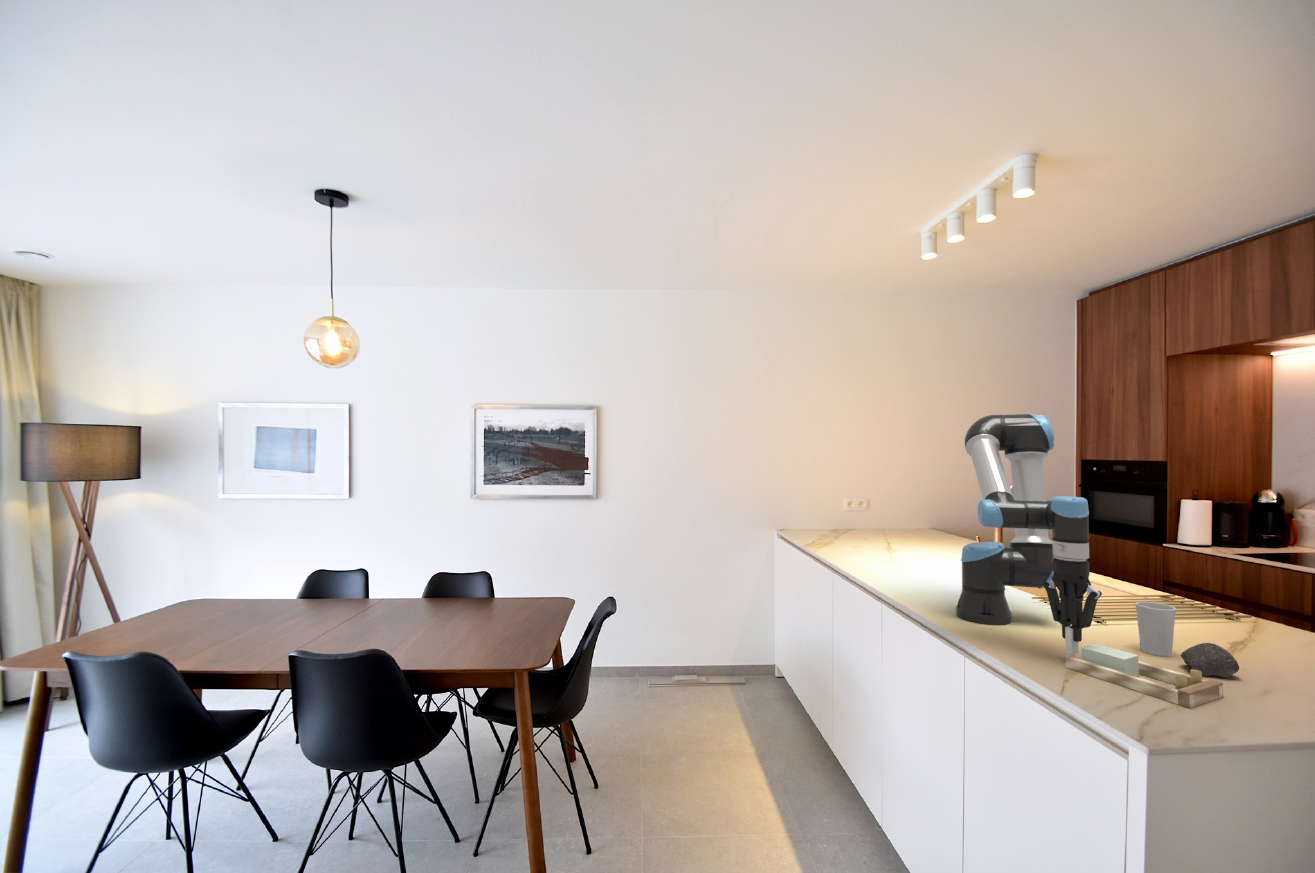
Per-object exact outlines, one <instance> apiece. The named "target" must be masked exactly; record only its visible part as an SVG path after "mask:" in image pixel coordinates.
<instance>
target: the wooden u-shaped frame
mask: <svg viewBox="0 0 1315 873" xmlns="http://www.w3.org/2000/svg"><path fill="white" fill-rule="evenodd" d="M1138 664H1139V675H1141V676H1146V677H1147V678H1148V677H1149V678H1152V679H1154V680H1159V681H1161V682H1165V683H1169V684H1171V685H1174V686H1175V687H1172V686H1168V685H1165V684H1162V683H1158V682H1155V681H1151V680H1148V679H1145V678H1142V677H1139V676H1138V677H1136V676H1133V675H1129V674H1126V673H1123V672H1120V671H1117V670H1113V669H1110V668H1107V667H1104V666H1100V665H1097V664H1094V663H1091V662H1088V661H1084V660H1081V658H1078V657H1074V656H1072V655H1069V656H1065V668H1066V669H1070V670H1072V671H1076V672H1079V673H1082V674H1085V675H1088V676H1091V677H1094V678H1097V679H1099V680H1103V681H1106V682H1109V683H1111V684H1115V685H1118V686H1122V687H1125V688H1127V689H1131V690H1134V691H1137V692H1140V693H1142V694H1145V695H1149V696H1151V697H1155V698H1158V699H1161V700H1164V701H1166V702H1170V703H1173V704H1176V705H1178V706H1182V707H1184V708H1185V707H1186V708H1189V709H1192V708H1196V707H1197V706H1201V705H1204V704H1206V703H1211V702H1212V701H1213V702H1214V701H1216V700H1219V699H1221V698H1223V697H1224V682H1221V681H1218V680H1214V679H1208V680H1206V679H1204V678H1203V676H1202V672H1201V671H1199V670H1194V669H1192V668H1191V669H1190V670H1189V671H1190V675H1189V674H1185V673H1182V672H1179V671H1176V670H1172V669H1168V668H1164V667H1162V666H1158V665H1154V664H1151V663H1148V662H1144V661H1142V660H1141V661H1140V660H1138Z"/></svg>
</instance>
